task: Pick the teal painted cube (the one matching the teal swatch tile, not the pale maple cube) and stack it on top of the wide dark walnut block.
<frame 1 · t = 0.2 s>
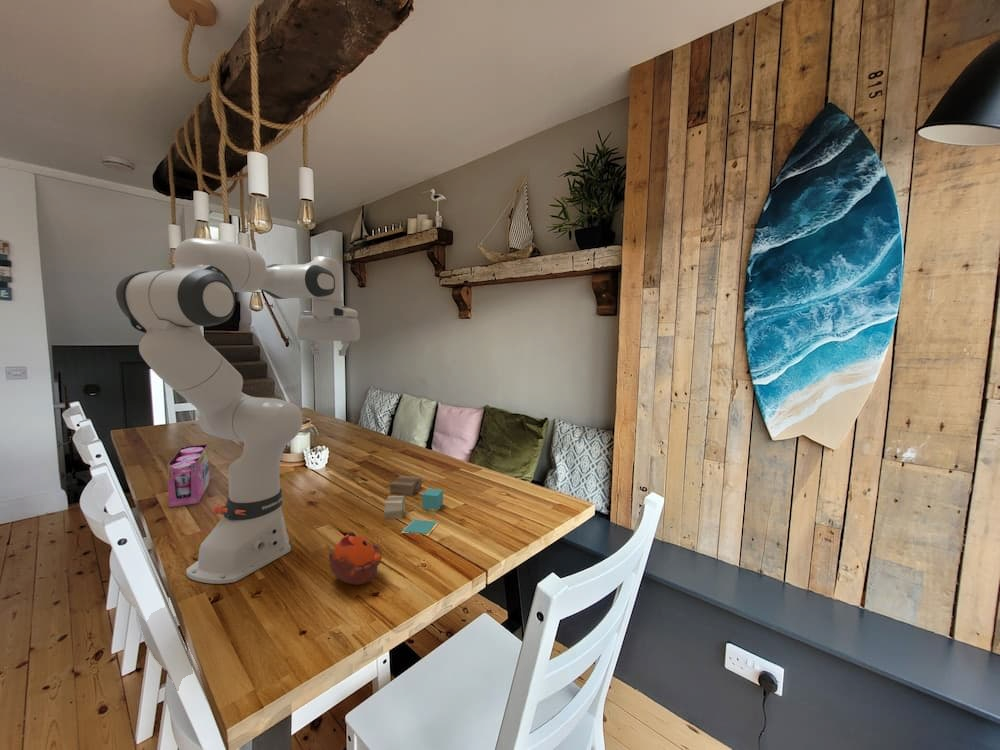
hand: (328, 355, 130), 48 cm above the table, fingers open, 8 cm apart
maple cube: (395, 514, 125), on the table
teal cube: (432, 507, 131), on the table
swatch tile: (420, 528, 117), on the table
walnut block: (406, 491, 144), on the table
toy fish: (356, 580, 92), on the table
gum box: (191, 493, 139), on the table
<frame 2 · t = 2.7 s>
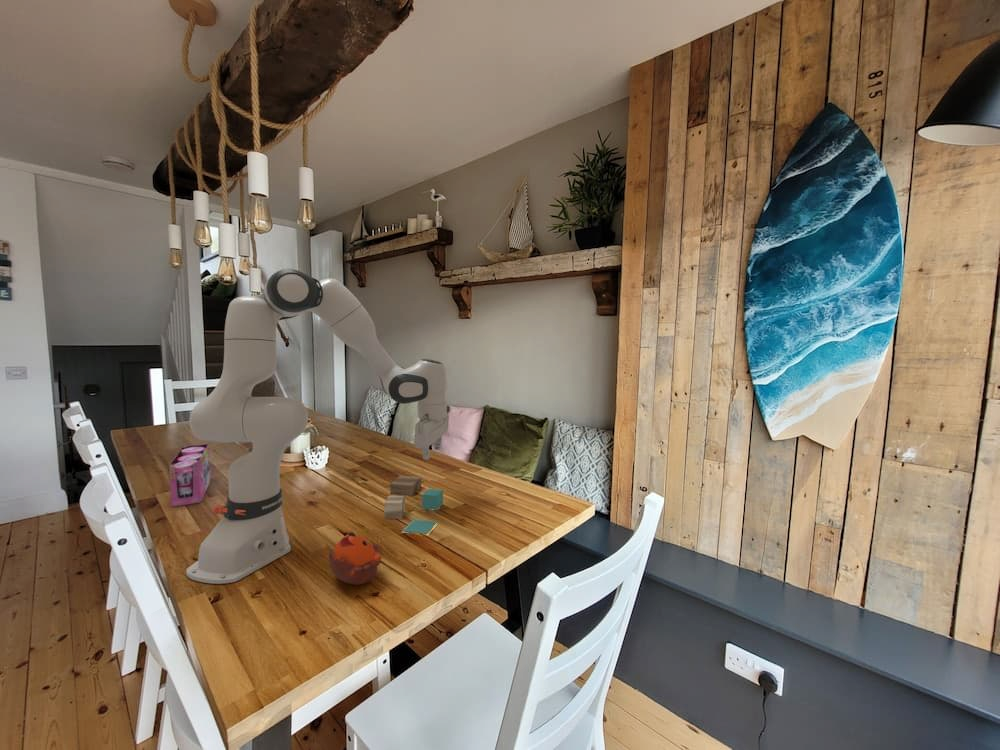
hand: (432, 454, 130), 17 cm above the table, fingers open, 8 cm apart
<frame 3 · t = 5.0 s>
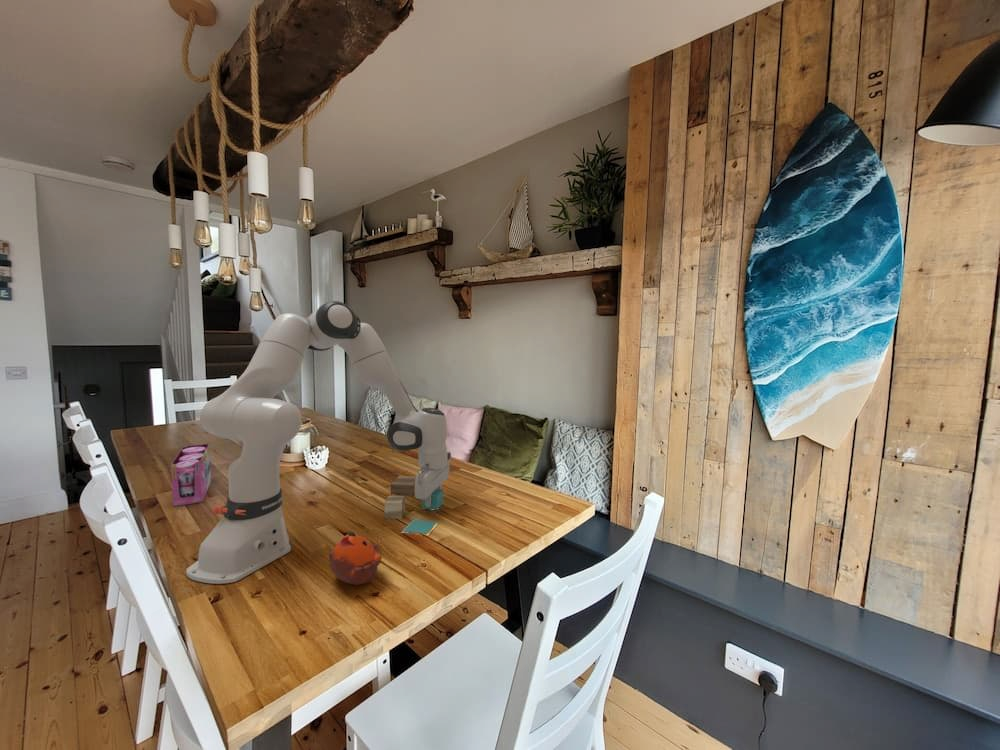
hand: (432, 501, 131), 2 cm above the table, fingers closed on teal cube, 5 cm apart
teal cube: (432, 506, 131), on the table, touching gripper
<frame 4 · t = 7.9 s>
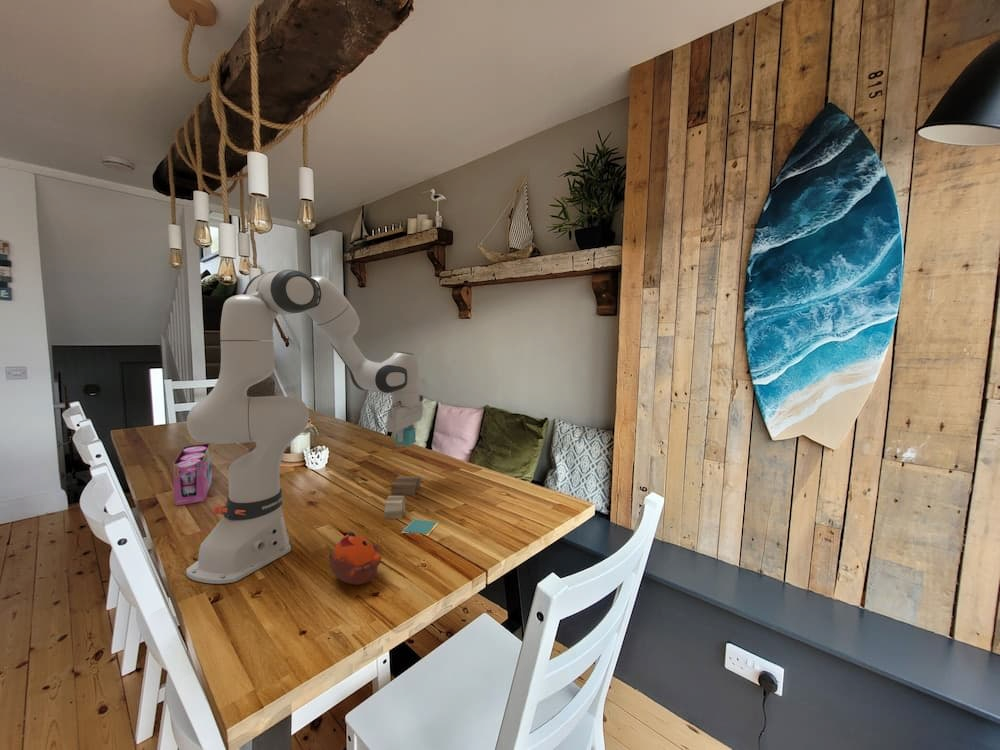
hand: (405, 438, 142), 19 cm above the table, fingers closed on teal cube, 5 cm apart
teal cube: (405, 443, 142), point 17 cm above the table, touching gripper
when the fingers open (7 cm above the table, at t = 10.8 s): teal cube drops 1 cm, resting on walnut block.
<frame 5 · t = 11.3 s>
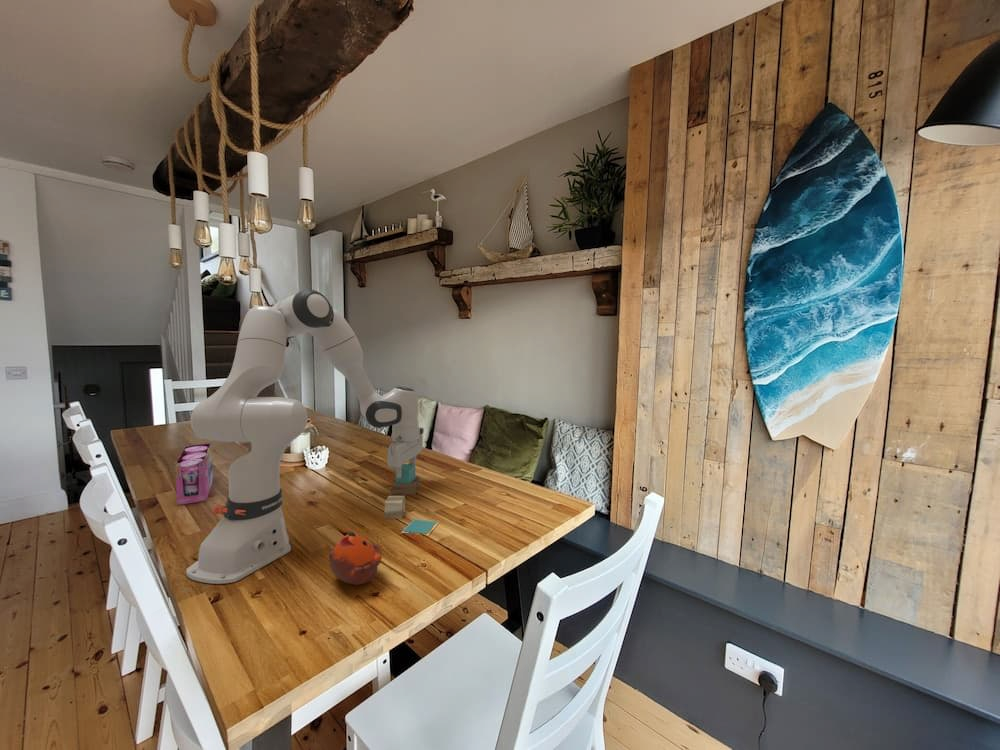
hand: (405, 472, 143), 7 cm above the table, fingers open, 8 cm apart
teal cube: (405, 480, 143), point 4 cm above the table, touching walnut block
walnut block: (406, 491, 144), on the table, touching teal cube
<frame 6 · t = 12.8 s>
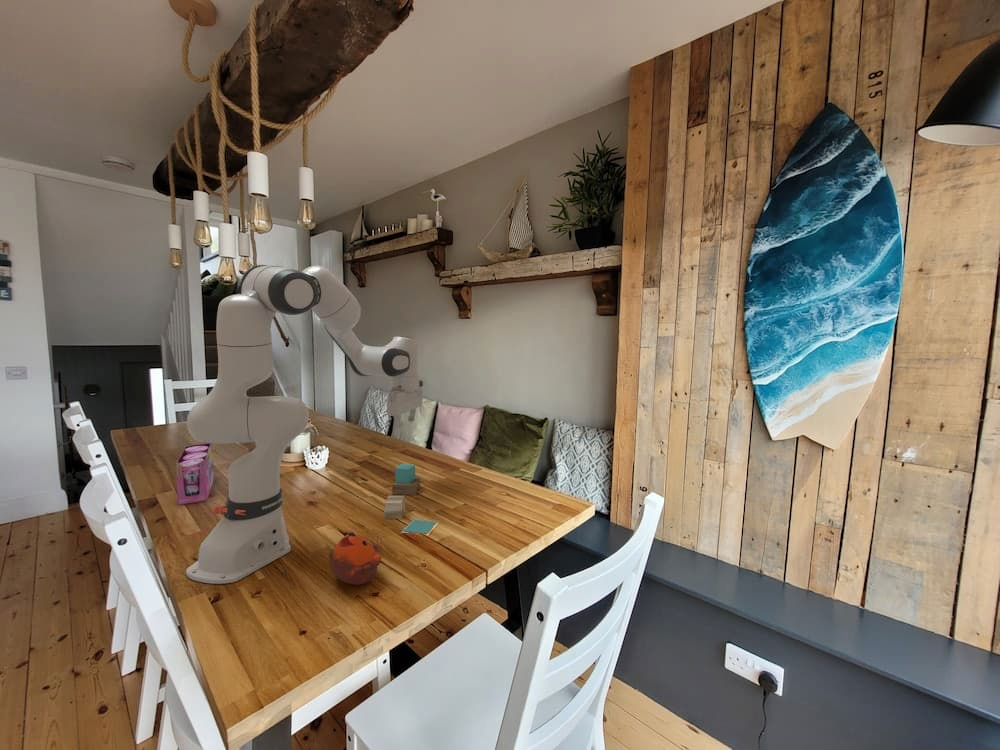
hand: (405, 424, 141), 24 cm above the table, fingers open, 8 cm apart
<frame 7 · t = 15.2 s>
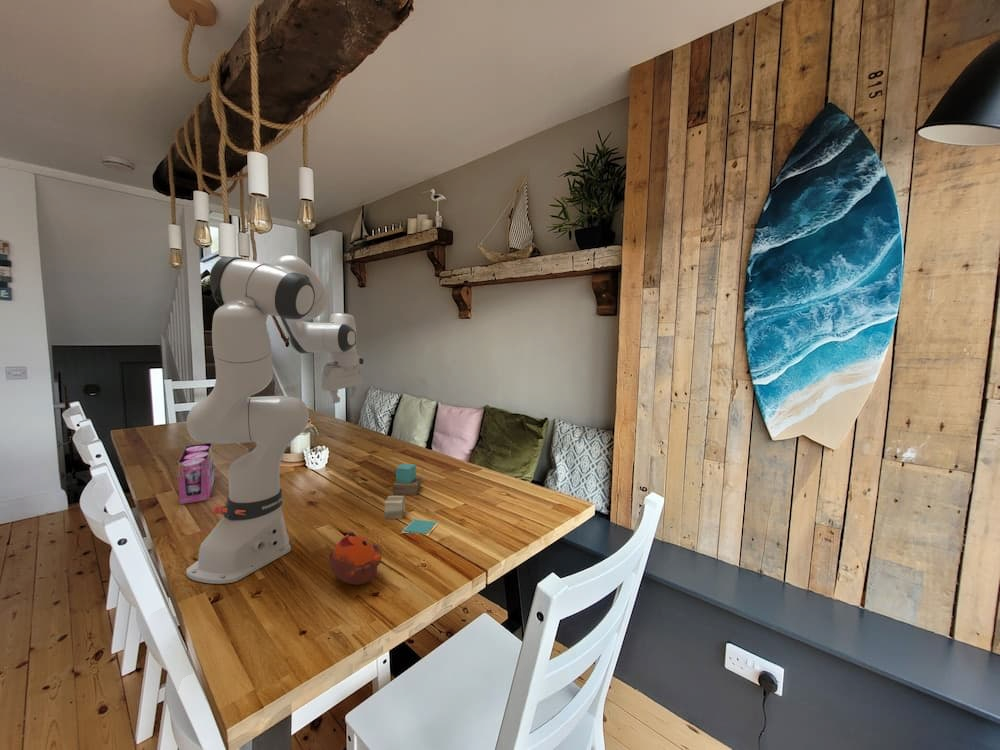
hand: (344, 400, 143), 31 cm above the table, fingers open, 8 cm apart
at the end: teal cube 0.6 cm off-centre on the walnut block, point 4.0 cm above the walnut block's base; teal cube tilted 0°; the gripper is holding nothing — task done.
